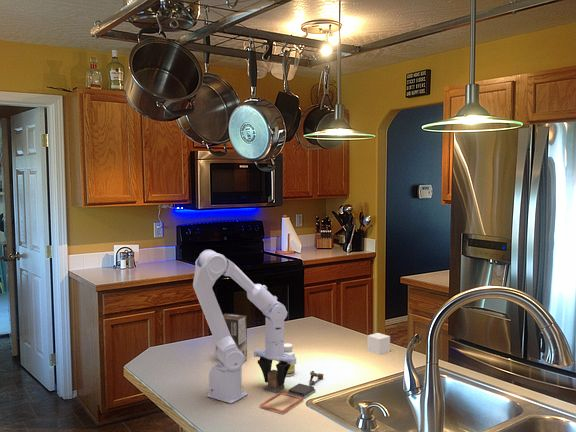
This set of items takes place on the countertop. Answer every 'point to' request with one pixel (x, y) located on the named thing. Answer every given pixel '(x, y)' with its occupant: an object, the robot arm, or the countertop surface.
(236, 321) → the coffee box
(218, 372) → the robot arm
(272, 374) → the stamp
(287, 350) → the supplement bottle
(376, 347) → the white cube
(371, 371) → the countertop surface
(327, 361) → the countertop surface
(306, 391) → the ink pad
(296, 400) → the red rimmed tray
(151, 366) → the countertop surface
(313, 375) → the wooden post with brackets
